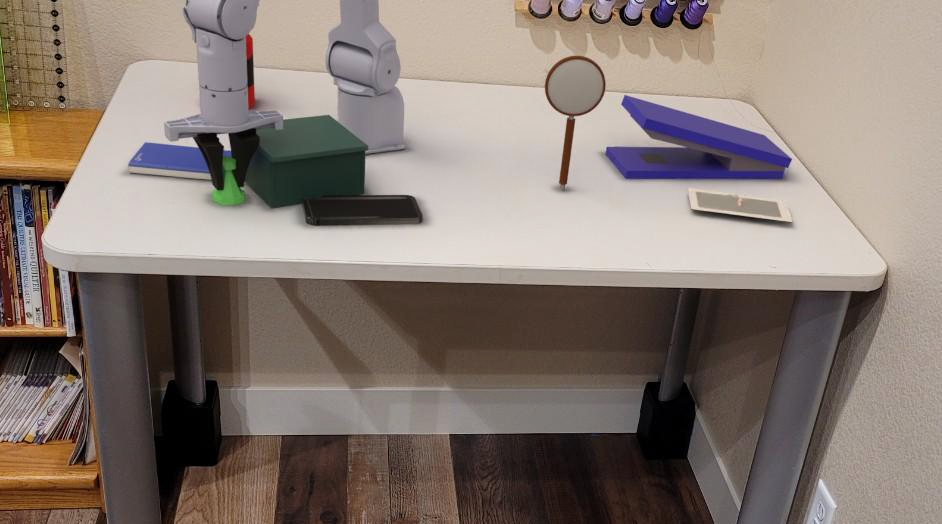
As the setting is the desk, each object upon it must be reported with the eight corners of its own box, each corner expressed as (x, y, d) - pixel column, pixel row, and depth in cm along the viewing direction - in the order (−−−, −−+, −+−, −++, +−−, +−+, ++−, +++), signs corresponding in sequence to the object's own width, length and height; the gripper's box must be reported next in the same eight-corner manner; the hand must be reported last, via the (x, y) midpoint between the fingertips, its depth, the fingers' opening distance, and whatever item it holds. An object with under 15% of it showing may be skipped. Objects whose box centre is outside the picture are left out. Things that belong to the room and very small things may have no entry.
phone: (301, 195, 139) (413, 194, 144) (301, 203, 140) (413, 202, 145) (307, 220, 133) (424, 218, 138) (307, 228, 134) (423, 226, 139)
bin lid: (368, 150, 140) (368, 145, 140) (272, 162, 133) (272, 157, 132) (329, 119, 148) (329, 114, 148) (236, 129, 140) (235, 124, 140)
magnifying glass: (589, 188, 156) (608, 56, 146) (591, 193, 155) (610, 60, 144) (532, 185, 154) (547, 51, 144) (534, 190, 153) (549, 55, 143)
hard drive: (127, 162, 139) (223, 171, 141) (145, 140, 146) (236, 149, 148) (128, 173, 140) (224, 182, 142) (146, 151, 147) (237, 160, 148)
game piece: (206, 194, 138) (203, 151, 135) (239, 189, 140) (237, 147, 137) (218, 207, 135) (215, 163, 132) (250, 202, 137) (248, 159, 134)
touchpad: (790, 228, 153) (794, 215, 152) (689, 215, 152) (692, 202, 151) (783, 207, 160) (786, 194, 158) (686, 194, 159) (689, 181, 158)
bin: (364, 194, 144) (365, 148, 141) (271, 208, 136) (269, 160, 133) (328, 163, 151) (329, 119, 148) (238, 175, 144) (236, 129, 140)
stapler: (604, 152, 170) (612, 94, 165) (757, 153, 179) (770, 98, 174) (627, 181, 161) (637, 119, 156) (788, 180, 170) (802, 122, 165)
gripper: (267, 70, 136) (269, 167, 143) (152, 78, 128) (161, 181, 135) (289, 87, 132) (290, 187, 139) (172, 97, 123) (180, 203, 130)
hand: (228, 185), depth 136 cm, fingers closed on game piece, 2 cm apart
